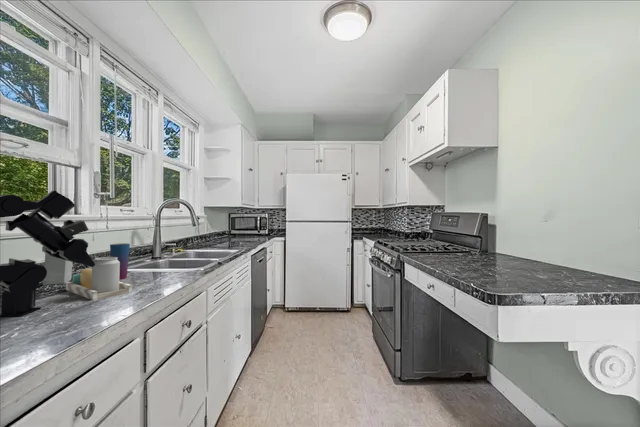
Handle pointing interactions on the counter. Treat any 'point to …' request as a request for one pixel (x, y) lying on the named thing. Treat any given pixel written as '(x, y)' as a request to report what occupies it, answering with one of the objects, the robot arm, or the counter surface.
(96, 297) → the tray
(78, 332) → the counter surface
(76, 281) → the pusher plate
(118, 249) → the cup
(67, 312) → the counter surface
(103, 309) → the counter surface
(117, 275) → the can
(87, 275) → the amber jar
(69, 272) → the skincare box
